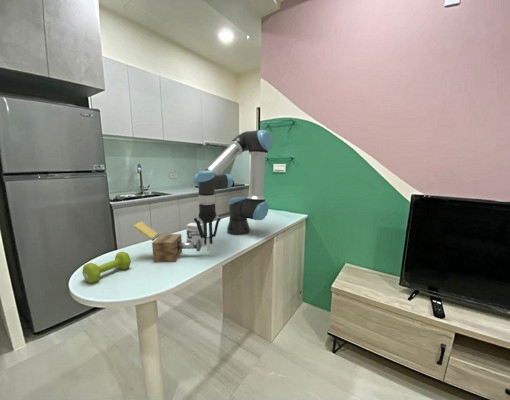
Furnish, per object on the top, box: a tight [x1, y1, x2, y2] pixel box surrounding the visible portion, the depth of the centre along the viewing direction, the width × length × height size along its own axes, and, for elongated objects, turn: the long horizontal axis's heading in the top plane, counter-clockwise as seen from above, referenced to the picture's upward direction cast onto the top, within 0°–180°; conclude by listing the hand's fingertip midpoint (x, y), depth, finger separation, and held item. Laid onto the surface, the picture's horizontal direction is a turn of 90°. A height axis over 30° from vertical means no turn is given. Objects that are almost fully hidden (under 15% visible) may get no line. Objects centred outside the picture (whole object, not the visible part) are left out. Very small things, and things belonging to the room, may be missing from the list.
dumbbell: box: [82, 251, 132, 284], centre depth 92 cm, size 16×8×7 cm, turn 151°
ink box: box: [185, 222, 205, 247], centre depth 125 cm, size 8×5×12 cm, turn 73°
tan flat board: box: [132, 221, 160, 242], centre depth 106 cm, size 11×7×1 cm
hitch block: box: [151, 233, 183, 263], centre depth 108 cm, size 10×12×10 cm
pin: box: [177, 240, 202, 252], centre depth 109 cm, size 12×6×6 cm, turn 94°
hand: (208, 250), depth 110 cm, fingers closed
